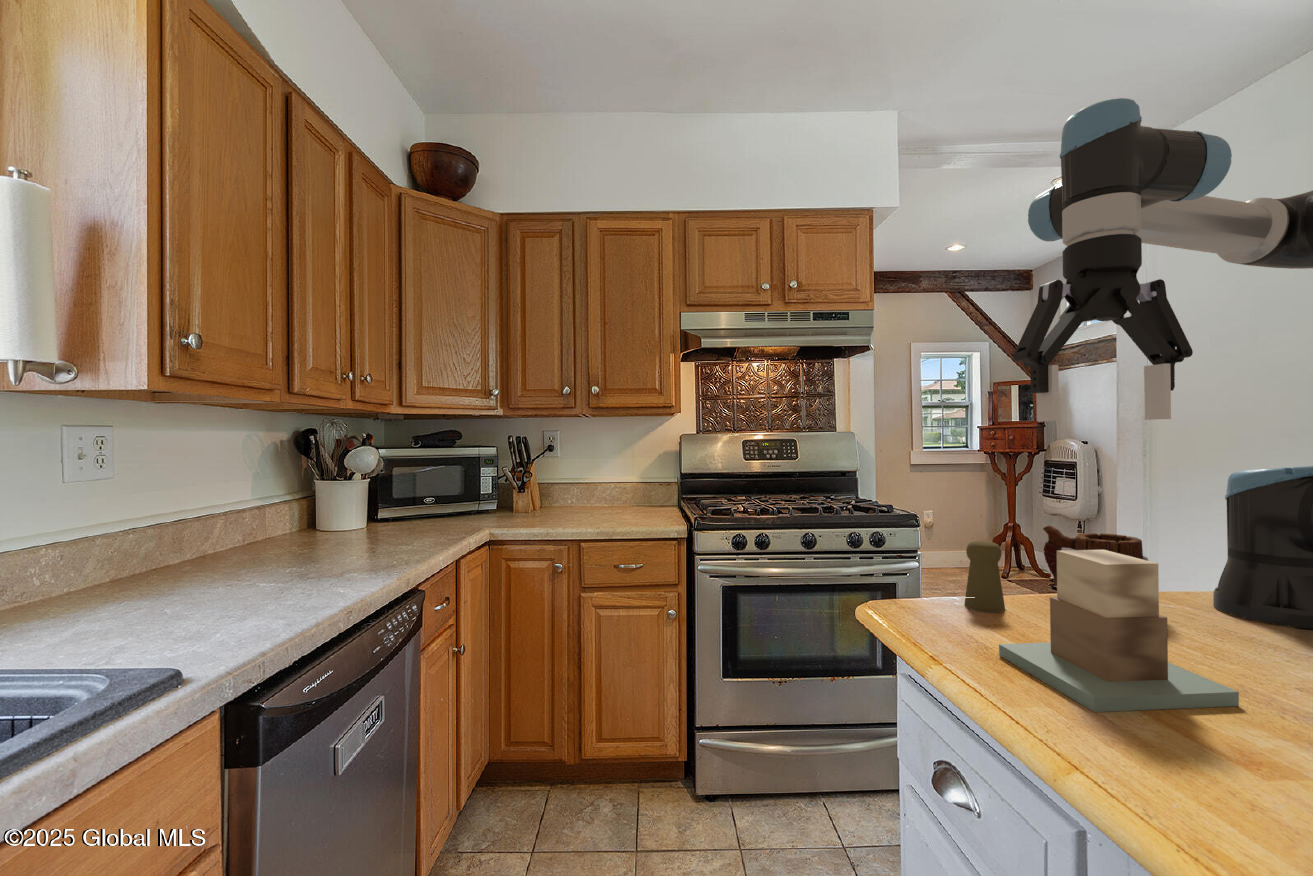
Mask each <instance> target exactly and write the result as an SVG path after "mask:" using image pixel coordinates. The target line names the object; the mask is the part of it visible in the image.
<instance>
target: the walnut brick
mask: <svg viewBox="0 0 1313 876" xmlns="http://www.w3.org/2000/svg"><path fill="white" fill-rule="evenodd" d="M1049 619H1050V620H1049V621H1050V624H1049V625H1050V629H1049V631H1050V633H1049V634H1050V642H1051V653H1053V654H1055V655H1057V656H1059V657H1061V658H1063V659H1064V660H1066V661H1068V662H1070V663H1072V664H1074V665H1076V666H1078V667H1080V668H1082V669H1084V670H1086V671H1088V672H1090V673H1091V674H1093V675H1095V676H1097V677H1099V678H1101V679H1103V680H1105V681H1107V682H1120V681H1147V680H1168V662H1169V660H1168V659H1169V656H1168V653H1169V652H1168V650H1169V648H1168V641H1169V639H1168V616H1164V615H1162V614H1159V617H1121V618H1105V617H1103V616H1100V615H1098V614H1095V613H1093V612H1090V611H1088V610H1085V609H1083V608H1080V607H1078V606H1075V605H1073V604H1071V603H1068V602H1066V601H1063V600H1061V599H1058V598H1057V596H1050V597H1049Z"/></svg>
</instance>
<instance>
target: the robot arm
mask: <svg viewBox="0 0 1313 876" xmlns="http://www.w3.org/2000/svg"><path fill="white" fill-rule="evenodd" d="M1142 119H1143V117H1142V116H1141V110H1140V106H1139V104H1137V102H1136V101H1135V100H1134V99H1131V98H1120V97H1119V98H1112V99H1111V98H1110V99H1106V100H1102V101H1099V102H1096V103H1093V104H1091V105H1088V106H1086V107H1083V108H1081V109H1080V110H1079V111H1077V112H1075V113H1074V114H1072V115H1071V116H1070V117H1069V118H1068V119H1067V120H1066V121H1065V123H1064V124H1063V127H1062V132H1061V144H1060V145H1061V146H1060V153H1059V159H1060V170H1061V174H1060V175H1061V182H1060V183H1056V184H1054V185H1053V186H1052V187H1050V188H1049V189H1047V190H1045V191H1043V192H1042V193H1040V194H1039V195H1037V196H1036V197H1035V198H1034V199H1033V201H1032V202H1031V203H1030V205H1029V208H1028V210H1027V211H1028V213H1027V224H1028V226H1029V229H1030V231H1031V232H1032V233H1033V235H1034V236H1035V237H1036V238H1037V239H1039V240H1041V241H1043V242H1055V241H1059V240H1062V244H1064V245H1065V246H1066V247H1065V248H1064V249H1063V250H1062V277H1063V278H1064V279H1065V280H1066V281H1065V283H1063V281H1062V279H1061V280H1060V279H1056V280H1052V281H1049V282H1047V283H1044V284H1041V285H1040V286H1039V288H1038V293H1037V294H1038V296H1037V304H1036V305H1035V307H1034V310H1033V312H1032V315H1031V316H1030V318H1029V321H1028V323H1027V325H1026V327H1025V329H1024V331H1023V333H1022V336H1021V338H1020V340H1019V342H1018V343H1017V346H1016V349H1015V350H1014V353H1013V356H1012V357H1013V360H1014V362H1022V363H1023V366H1024V367H1026V368H1029V369H1030V390H1031V392H1032V394H1036V397H1035V398H1036V401H1035V402H1036V422H1039V423H1040V422H1060V402H1059V401H1060V399H1059V397H1060V395H1059V394H1060V393H1059V391H1060V389H1059V386H1060V385H1059V384H1060V383H1059V365H1058V364H1051V363H1052V361H1053V360H1054V359H1055V357H1057V355H1058V354H1059V352H1060V351H1061V350H1062V349H1063V347H1064V346H1065V345H1066V344H1067V342H1068V341H1069V340H1070V339H1071V338H1072V336H1073V335H1074V334H1075V332H1076V331H1077V330H1078V329H1079V327H1080V326H1081V325H1082V324H1083V323H1084V322H1092V321H1099V322H1109V321H1111V322H1113V324H1114V325H1117V326H1120V327H1121V329H1123V331H1124V332H1125V333H1126V334H1127V336H1128V337H1129V338H1130V339H1131V341H1132V342H1133V343H1134V344H1135V345H1136V347H1137V348H1138V349H1139V350H1140V351H1141V353H1142V354H1143V355H1144V357H1146V358H1147V359H1148V361H1149V362H1150V363H1151V365H1150V364H1149V365H1144V367H1143V369H1144V371H1143V375H1144V376H1143V377H1144V378H1143V379H1144V380H1143V381H1144V384H1143V385H1144V388H1143V389H1144V391H1143V392H1144V420H1145V421H1146V420H1149V421H1151V420H1172V398H1171V397H1172V395H1171V393H1172V392H1171V391H1174V390H1175V387H1176V386H1175V385H1176V384H1175V383H1176V382H1175V380H1176V378H1175V377H1176V376H1175V375H1176V374H1175V372H1176V371H1175V368H1176V367H1175V365H1176V363H1181V362H1184V360H1185V358H1190V357H1192V355H1193V353H1194V351H1193V348H1192V346H1191V345H1190V342H1189V340H1188V339H1187V336H1186V335H1185V334H1186V333H1185V332H1184V330H1183V328H1182V325H1181V324H1180V322H1179V320H1178V318H1177V316H1176V314H1175V311H1174V310H1173V308H1172V306H1171V303H1170V302H1169V299H1168V296H1167V290H1166V289H1167V288H1166V287H1167V286H1166V283H1165V281H1164V280H1163V279H1161V278H1159V279H1156V280H1152V281H1149V282H1144V283H1143V282H1142V283H1140V282H1139V281H1138V278H1137V273H1138V272H1139V270H1140V268H1141V267H1142V263H1143V262H1142V261H1143V256H1142V255H1143V254H1142V253H1143V252H1142V251H1143V250H1142V249H1143V247H1142V245H1143V244H1147V245H1153V246H1161V247H1167V248H1168V247H1169V248H1176V249H1182V250H1183V249H1184V250H1188V251H1189V250H1190V251H1196V252H1203V253H1211V254H1216V255H1217V256H1218V257H1219V258H1220V259H1222V260H1223V261H1225V262H1227V263H1232V264H1235V265H1236V264H1238V265H1243V266H1249V267H1251V266H1252V267H1261V268H1262V267H1263V268H1274V269H1276V268H1277V269H1291V270H1292V269H1296V270H1297V269H1299V270H1300V269H1301V270H1303V269H1304V270H1306V269H1313V190H1310V191H1306V192H1303V193H1301V194H1296V195H1291V196H1289V197H1282V198H1273V197H1257V198H1252V199H1249V200H1247V201H1241V200H1235V199H1234V200H1233V199H1228V198H1222V197H1215V196H1209V195H1208V194H1210V193H1212V191H1214V190H1215V189H1217V188H1218V187H1219V185H1221V184H1222V182H1223V181H1224V179H1225V178H1226V176H1227V174H1228V173H1229V171H1230V168H1231V165H1232V158H1233V157H1232V156H1233V155H1232V149H1231V147H1230V144H1229V143H1228V142H1227V141H1226V139H1224V138H1222V137H1220V136H1218V135H1213V134H1207V133H1204V132H1202V131H1199V130H1197V131H1196V130H1193V131H1191V130H1180V129H1179V130H1178V129H1168V128H1166V129H1164V128H1156V127H1155V128H1153V127H1151V126H1142V125H1141V123H1142ZM1064 299H1065V300H1066V302H1067V303H1068V306H1067V307H1066V308H1065V309H1064V310H1063V312H1062V313H1061V314H1060V316H1059V318H1058V319H1059V320H1058V321H1057V323H1056V324H1055V325H1054V327H1053V328H1052V329H1051V330H1050V331H1049V329H1050V327H1051V326H1052V324H1053V320H1055V317H1056V314H1057V312H1058V310H1059V308H1060V305H1061V303H1062V301H1063V300H1064ZM1048 332H1049V333H1048ZM1047 333H1048V334H1047ZM1224 497H1225V498H1224V500H1225V501H1226V542H1227V558H1226V559H1227V560H1226V562H1225V566H1224V567H1223V570H1222V573H1221V575H1220V578H1219V580H1218V583H1217V587H1215V588H1214V590H1213V593H1212V597H1213V598H1212V599H1213V601H1212V602H1213V603H1212V605H1213V607H1214V608H1215V609H1217V610H1219V611H1221V612H1223V613H1226V614H1228V615H1232V616H1235V617H1238V618H1243V619H1247V620H1252V621H1257V622H1260V623H1266V624H1271V625H1279V626H1285V627H1290V628H1291V627H1292V628H1301V629H1302V628H1303V629H1312V630H1313V466H1308V465H1307V466H1291V467H1276V468H1273V467H1272V468H1259V469H1258V468H1257V469H1256V468H1255V469H1247V470H1246V469H1244V470H1237V471H1234V472H1233V473H1231V474H1230V475H1229V476H1228V478H1227V484H1226V494H1225V495H1224Z"/></svg>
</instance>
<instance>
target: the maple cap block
mask: <svg viewBox="0 0 1313 876" xmlns="http://www.w3.org/2000/svg"><path fill="white" fill-rule="evenodd" d="M1159 583H1160V582H1159V563H1158V562H1154V561H1150V560H1148V561H1147V560H1143V559H1139V558H1135V557H1131V556H1127V555H1123V554H1119V553H1115V552H1111V551H1107V550H1074V549H1070V550H1067V549H1066V550H1065V549H1064V550H1063V549H1062V550H1061V551H1057V586H1056V597H1057V598H1058V599H1061V600H1063V601H1066V602H1068V603H1071V604H1073V605H1075V606H1078V607H1080V608H1083V609H1085V610H1088V611H1090V612H1093V613H1095V614H1098V615H1100V616H1103V617H1105V618H1121V617H1159V615H1160V605H1159V603H1160V599H1159V598H1160V597H1159V596H1160V595H1159V594H1160V592H1159V591H1160V590H1159V589H1160V585H1159Z"/></svg>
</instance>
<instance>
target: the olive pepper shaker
mask: <svg viewBox="0 0 1313 876" xmlns="http://www.w3.org/2000/svg"><path fill="white" fill-rule="evenodd" d="M1001 548H1002V547H1000V545H999V544H997V543H996V542H992V541H988V540H975V541H970V542H969V543H968V544H967V546H966V549H965V551H966V557H967V558H968V560H970V561H969V565H968V567H969V569H968V575H967V583H966V590H965V597H975V598H965V599H964V607H965V608H967V609H970V610H972V611H977V612H978V611H979V612H985V613H1002V612H1005V611H1006V605H1005V601H1004V600H1005V599H1004V593H1003V587H1002V580H1001V574H1000V568H999V562H1000V560H1001V558H1002V553H1003V552H1002V549H1001Z"/></svg>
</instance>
